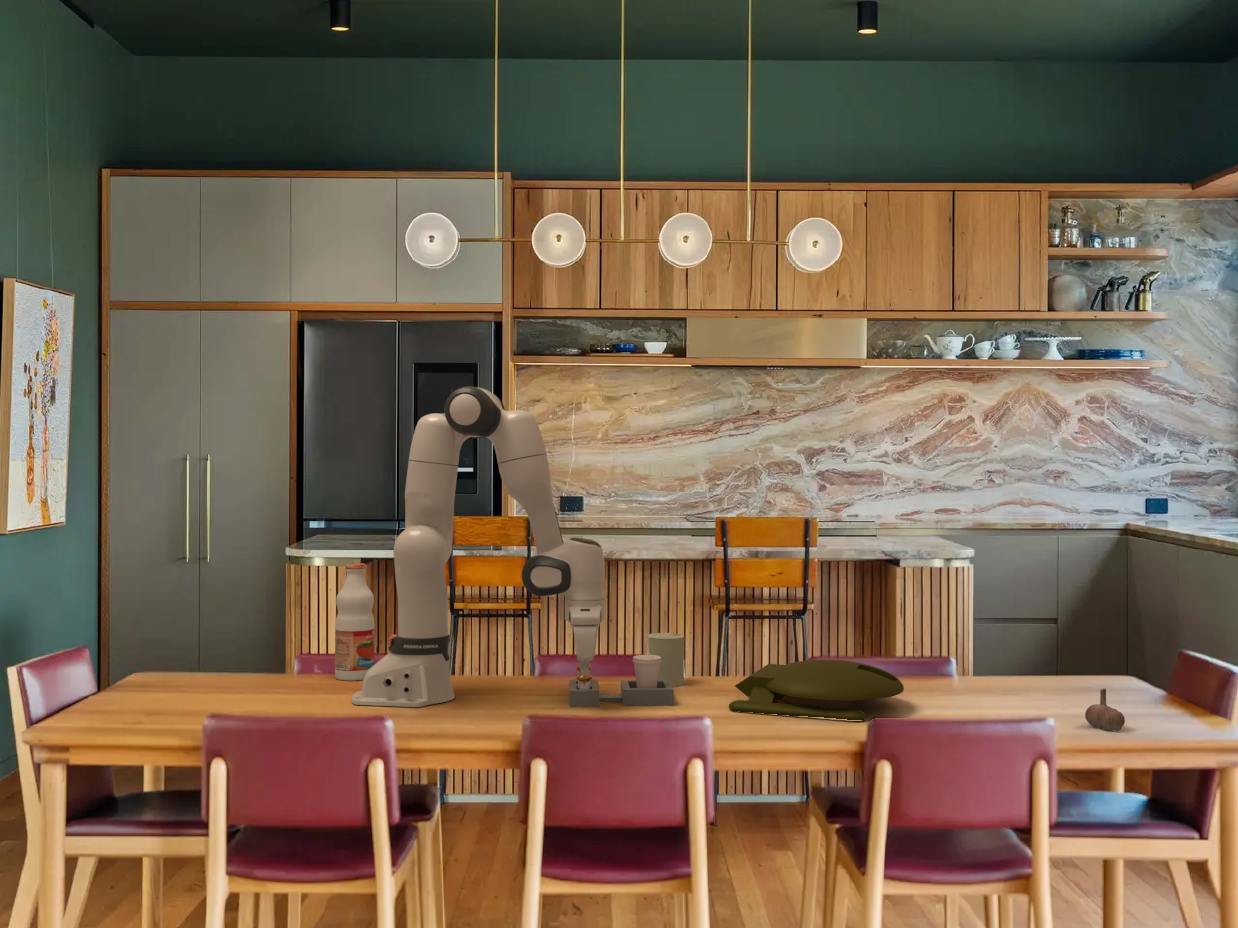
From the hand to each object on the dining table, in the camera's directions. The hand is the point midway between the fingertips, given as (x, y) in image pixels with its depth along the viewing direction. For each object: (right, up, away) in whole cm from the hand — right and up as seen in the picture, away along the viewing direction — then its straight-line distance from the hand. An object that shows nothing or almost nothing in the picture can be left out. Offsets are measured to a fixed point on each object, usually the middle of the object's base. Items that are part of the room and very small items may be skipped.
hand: (584, 674), depth 241 cm
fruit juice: (-58, -7, +29) cm, 65 cm away
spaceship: (+52, -7, 0) cm, 53 cm away
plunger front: (0, -6, 0) cm, 6 cm away
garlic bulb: (+105, -7, -21) cm, 107 cm away
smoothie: (+14, -7, +4) cm, 16 cm away
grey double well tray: (+8, -6, +3) cm, 11 cm away
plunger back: (0, -5, +6) cm, 8 cm away
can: (+19, -7, +24) cm, 31 cm away
